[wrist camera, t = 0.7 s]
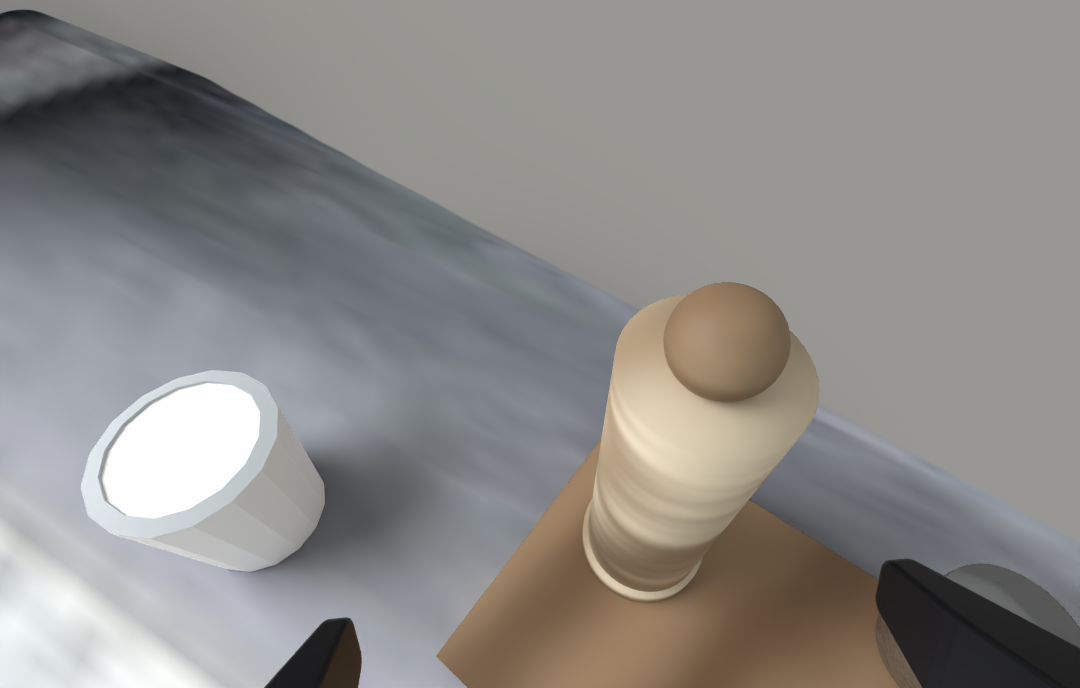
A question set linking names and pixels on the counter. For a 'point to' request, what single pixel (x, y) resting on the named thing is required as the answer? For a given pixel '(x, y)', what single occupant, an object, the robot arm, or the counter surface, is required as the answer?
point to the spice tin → (999, 589)
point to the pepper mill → (691, 432)
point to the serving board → (673, 614)
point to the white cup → (206, 474)
